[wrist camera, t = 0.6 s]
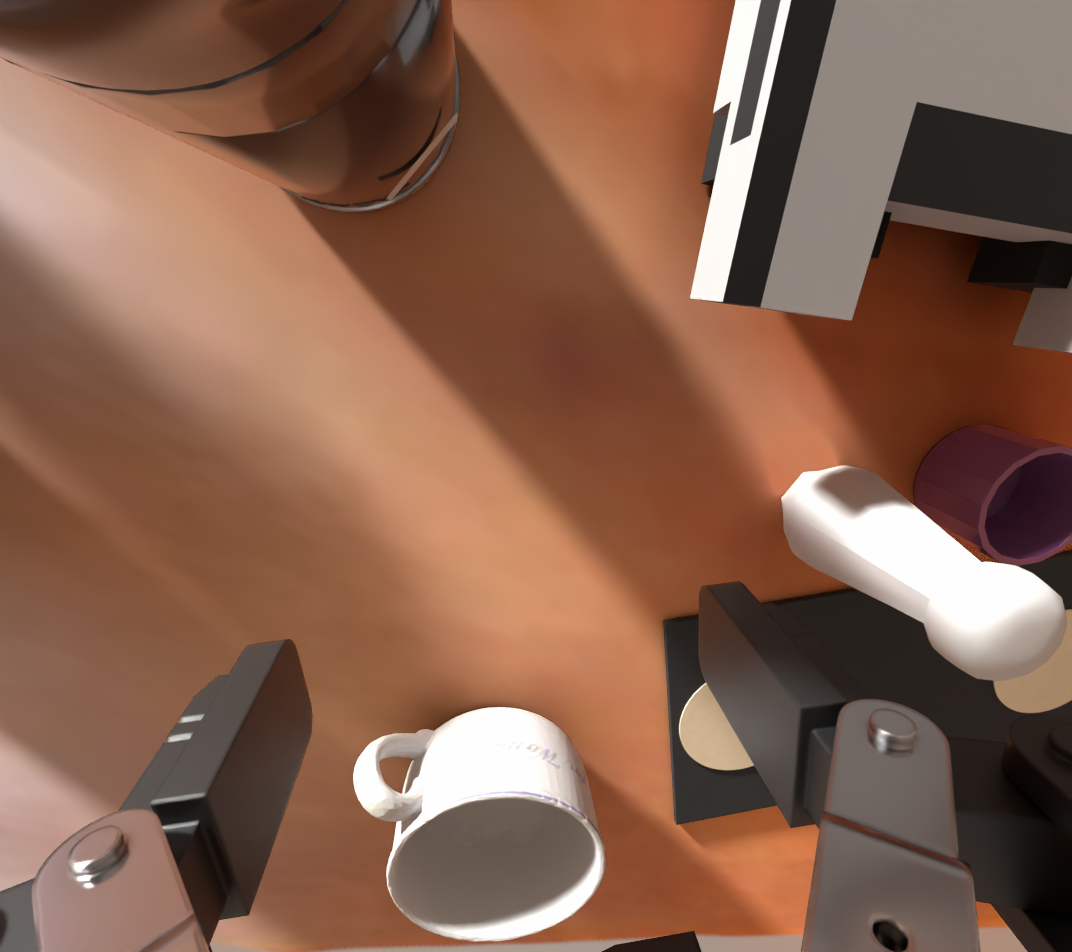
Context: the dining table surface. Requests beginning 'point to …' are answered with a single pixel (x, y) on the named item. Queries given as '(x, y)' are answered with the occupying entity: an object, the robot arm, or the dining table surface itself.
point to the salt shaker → (923, 573)
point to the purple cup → (999, 492)
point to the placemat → (882, 669)
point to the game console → (891, 150)
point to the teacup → (486, 825)
